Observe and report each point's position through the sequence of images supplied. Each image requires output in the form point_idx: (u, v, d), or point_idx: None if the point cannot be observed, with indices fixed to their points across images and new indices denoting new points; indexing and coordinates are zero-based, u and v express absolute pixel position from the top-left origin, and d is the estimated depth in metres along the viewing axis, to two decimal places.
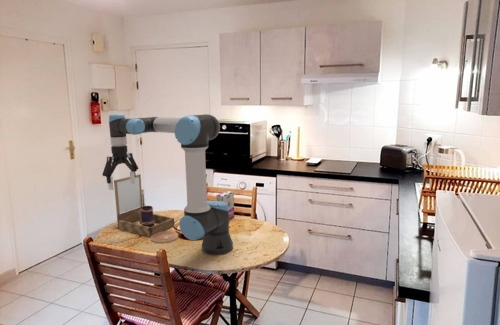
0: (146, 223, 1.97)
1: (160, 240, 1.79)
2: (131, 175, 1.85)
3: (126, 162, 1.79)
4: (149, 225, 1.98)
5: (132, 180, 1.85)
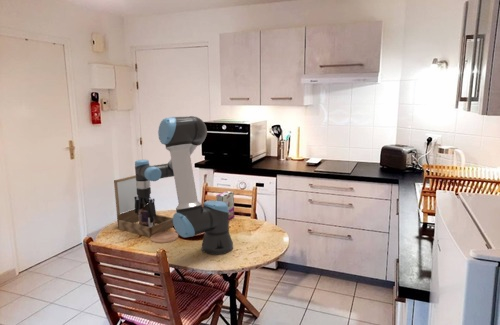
0: (146, 223, 1.97)
1: (160, 240, 1.79)
2: None
3: (145, 204, 1.95)
4: None
5: None
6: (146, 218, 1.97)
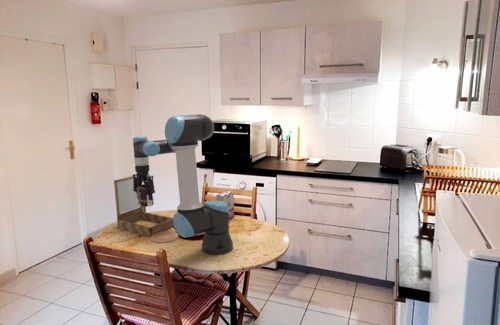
0: (145, 201, 1.95)
1: (160, 240, 1.79)
2: None
3: None
4: None
5: None
6: (145, 196, 1.94)
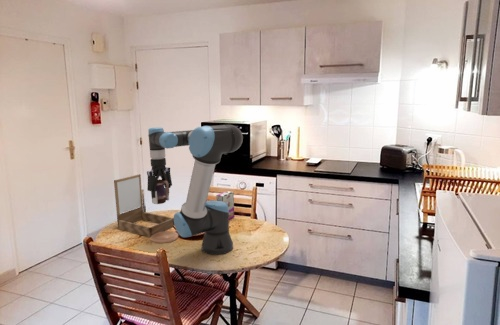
0: None
1: (160, 240, 1.79)
2: (165, 192, 1.85)
3: (163, 175, 1.81)
4: None
5: None
6: (164, 190, 1.82)
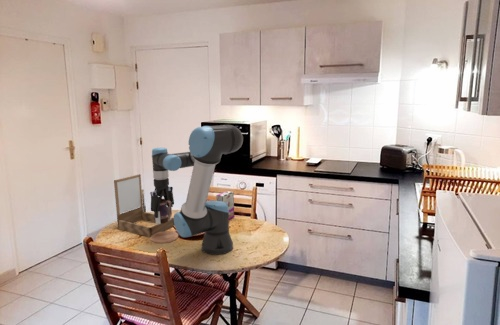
0: (167, 215, 1.84)
1: (160, 240, 1.79)
2: (167, 211, 1.85)
3: (166, 195, 1.81)
4: None
5: (168, 215, 1.86)
6: (166, 210, 1.83)
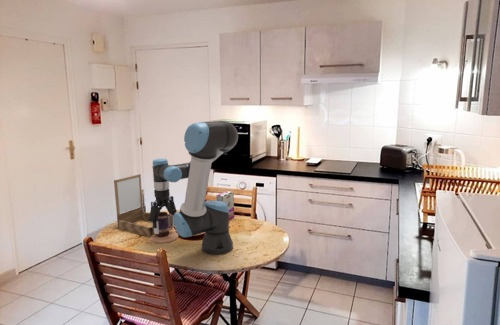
0: (168, 229, 1.85)
1: (160, 240, 1.79)
2: (169, 219, 1.88)
3: (167, 205, 1.83)
4: None
5: None
6: None
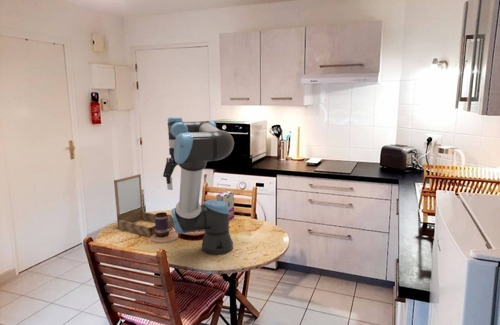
0: (168, 229, 1.85)
1: (160, 240, 1.79)
2: None
3: None
4: None
5: None
6: (167, 224, 1.84)
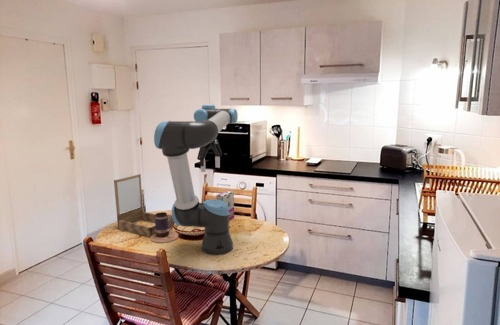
0: (168, 229, 1.85)
1: (160, 240, 1.79)
2: (216, 160, 2.06)
3: (214, 148, 2.01)
4: None
5: (217, 164, 2.06)
6: (167, 224, 1.84)
